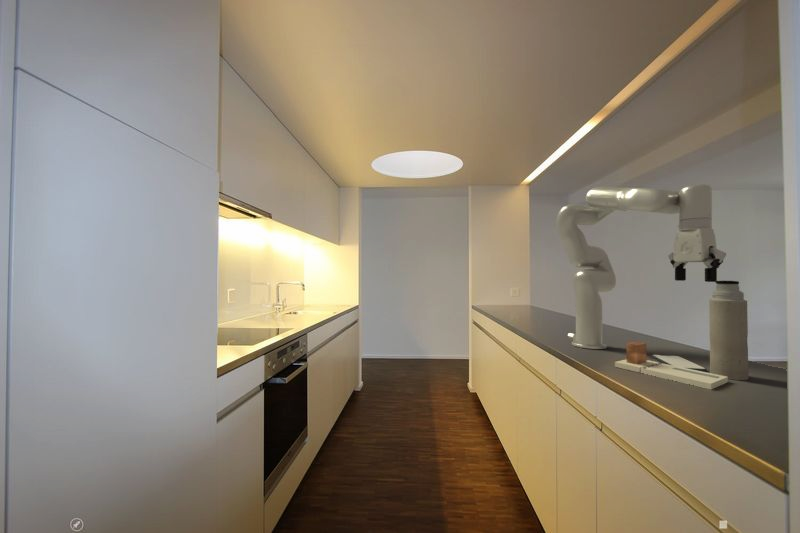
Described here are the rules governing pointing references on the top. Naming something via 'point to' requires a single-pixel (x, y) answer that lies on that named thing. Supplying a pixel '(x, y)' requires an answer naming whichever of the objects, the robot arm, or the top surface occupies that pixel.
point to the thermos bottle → (728, 331)
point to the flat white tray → (685, 375)
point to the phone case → (678, 362)
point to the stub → (635, 357)
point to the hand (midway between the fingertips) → (694, 281)
